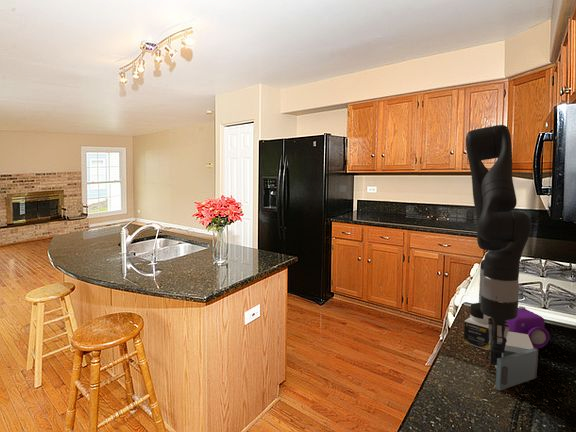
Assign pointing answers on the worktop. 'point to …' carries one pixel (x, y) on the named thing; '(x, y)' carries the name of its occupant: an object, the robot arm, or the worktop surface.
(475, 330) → the medicine bottle
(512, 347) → the camera case
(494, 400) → the worktop surface
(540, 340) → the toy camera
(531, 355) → the case door
